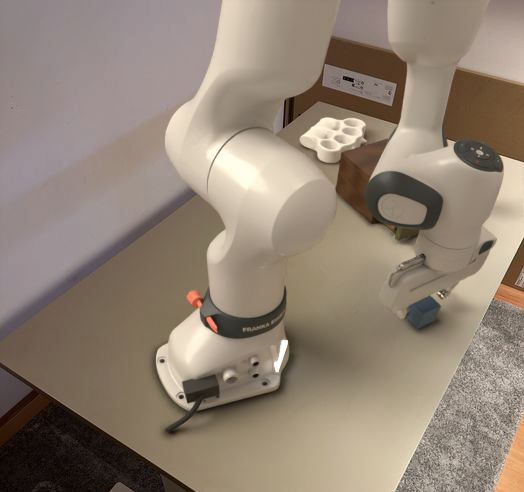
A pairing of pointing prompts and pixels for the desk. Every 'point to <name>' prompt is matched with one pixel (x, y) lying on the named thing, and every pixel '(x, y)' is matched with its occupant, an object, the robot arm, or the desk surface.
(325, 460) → the desk surface
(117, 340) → the desk surface
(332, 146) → the white multi-well tray
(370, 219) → the cabinet
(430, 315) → the block
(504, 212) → the desk surface
